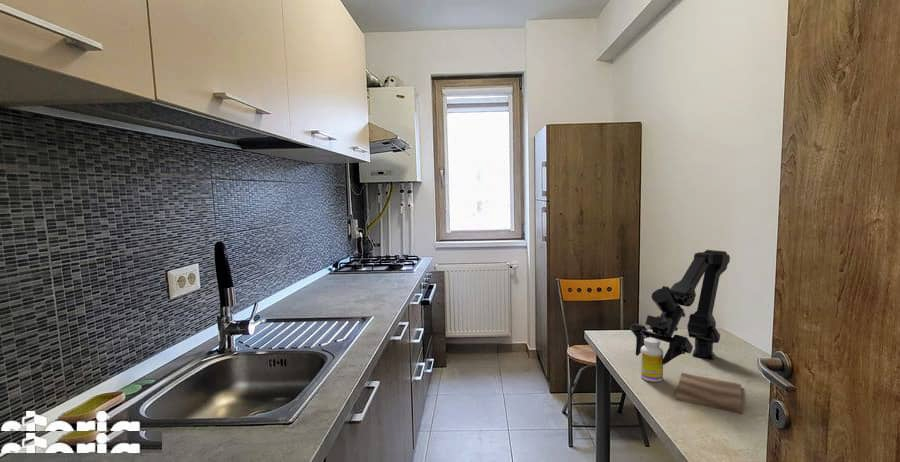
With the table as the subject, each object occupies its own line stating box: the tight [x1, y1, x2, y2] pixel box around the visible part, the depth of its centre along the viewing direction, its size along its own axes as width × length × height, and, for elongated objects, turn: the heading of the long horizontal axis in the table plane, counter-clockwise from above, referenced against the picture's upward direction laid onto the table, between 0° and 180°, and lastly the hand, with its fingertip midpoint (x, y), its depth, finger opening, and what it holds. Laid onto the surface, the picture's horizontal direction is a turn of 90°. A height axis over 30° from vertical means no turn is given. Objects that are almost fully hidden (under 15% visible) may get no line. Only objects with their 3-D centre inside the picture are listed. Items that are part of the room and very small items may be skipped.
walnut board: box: [674, 372, 743, 415], centre depth 125 cm, size 18×16×1 cm
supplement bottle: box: [639, 337, 664, 383], centre depth 135 cm, size 7×7×13 cm
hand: (649, 359), depth 134 cm, fingers open, 9 cm apart
